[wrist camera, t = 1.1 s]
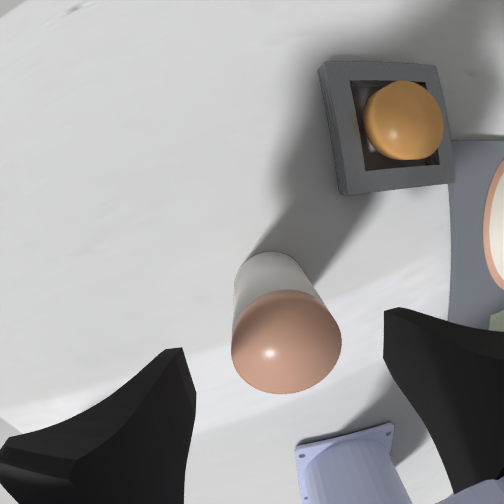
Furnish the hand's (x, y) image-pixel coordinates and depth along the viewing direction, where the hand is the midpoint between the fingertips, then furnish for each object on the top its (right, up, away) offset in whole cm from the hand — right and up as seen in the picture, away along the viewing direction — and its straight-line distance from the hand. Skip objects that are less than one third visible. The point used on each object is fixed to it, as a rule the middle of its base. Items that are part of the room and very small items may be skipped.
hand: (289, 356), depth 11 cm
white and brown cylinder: (0, +2, +7) cm, 8 cm away
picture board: (+19, +2, +8) cm, 21 cm away
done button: (+6, +10, +4) cm, 13 cm away
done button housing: (+6, +11, +5) cm, 14 cm away
